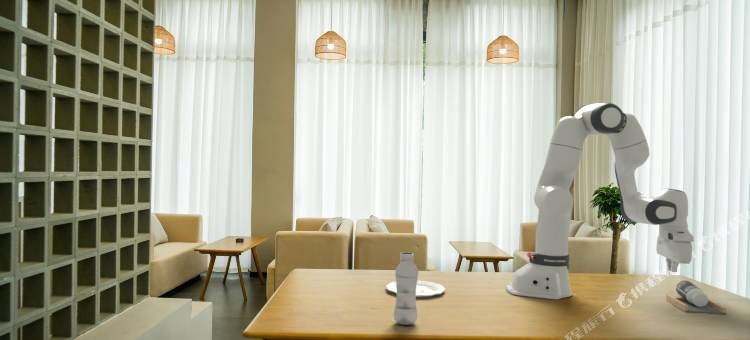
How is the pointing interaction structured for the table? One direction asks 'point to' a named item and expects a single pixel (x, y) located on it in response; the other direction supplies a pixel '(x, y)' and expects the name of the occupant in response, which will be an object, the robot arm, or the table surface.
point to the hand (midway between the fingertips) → (672, 271)
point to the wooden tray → (688, 307)
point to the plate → (422, 286)
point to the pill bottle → (691, 293)
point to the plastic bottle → (406, 290)
